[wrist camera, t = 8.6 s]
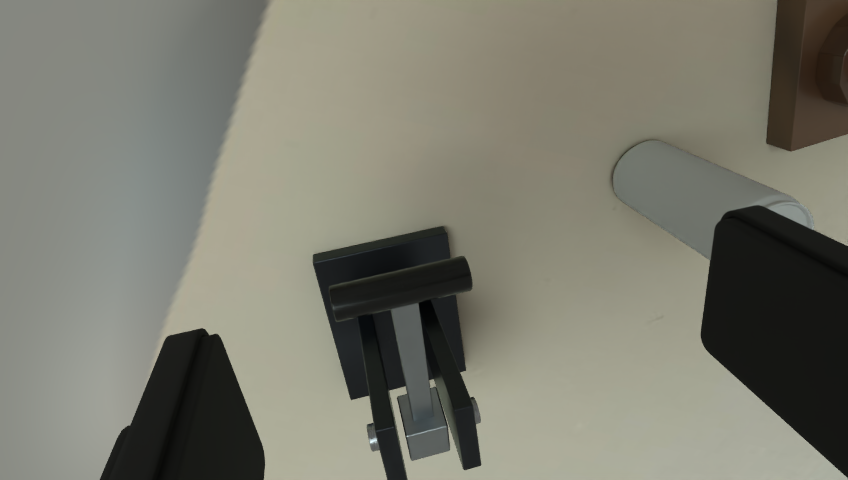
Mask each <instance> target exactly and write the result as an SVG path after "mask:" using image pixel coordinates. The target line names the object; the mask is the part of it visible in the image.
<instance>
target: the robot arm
mask: <svg viewBox="0 0 848 480" xmlns="http://www.w3.org/2000/svg"><path fill="white" fill-rule="evenodd" d="M701 340H702V343H703V345H704V347H705V349H706V350H707V351H708V352H709V353H710V354H711V355H712V356H713V357H714V358H715V359H716V360H718V361H719V362H720V363H721V364H722V365H723V366H724V367H725V368H726V369H727V370H729V371H730V372H731V373H732V374H733V375H734V376H735V377H736V378H737V379H739V380H740V381H741V382H742V383H743V384H744V385H745V386H746V387H747V388H749V389H750V390H751V391H752V392H753V393H754V394H755V395H756V396H757V397H759V398H760V399H761V400H762V401H763V402H764V403H765V404H766V405H767V406H769V407H770V408H771V409H772V410H773V411H774V412H775V413H776V414H777V415H779V416H780V417H781V418H782V419H783V420H784V421H785V422H786V423H787V424H789V425H790V426H791V427H792V428H793V429H794V430H795V431H796V432H797V433H798V434H800V435H801V436H802V437H803V438H804V439H805V440H806V441H807V442H808V443H810V444H811V445H812V446H813V447H814V448H815V449H816V450H817V451H818V452H820V453H821V454H822V455H823V456H824V457H825V458H826V459H827V460H828V461H830V462H831V463H832V464H833V465H834V466H835V467H836V468H837V469H838V470H840V471H841V472H842V473H843V474H844V475H845V476H846V477H847V478H848V246H846V245H844V244H842V243H840V242H837V241H835V240H833V239H831V238H829V237H827V236H825V235H823V234H821V233H818V232H816V231H814V230H812V229H810V228H808V227H806V226H804V225H802V224H799V223H797V222H795V221H793V220H791V219H789V218H787V217H785V216H783V215H780V214H778V213H776V212H774V211H772V210H770V209H768V208H766V207H763V206H760V205H754V206H749V207H745V208H740V209H736V210H731V211H728V212H726V213H725V214H724V215H723V216H722V218H721V221H719V222H718V223H717V224H716V226H715V229H714V237H713V244H712V252H711V259H710V267H709V274H708V282H707V289H706V297H705V304H704V312H703V320H702V327H701ZM264 470H265V457H264V450H263V446H262V443H261V440H260V438H259V435H258V433H257V430H256V428H255V425H254V422H253V420H252V417H251V415H250V412H249V409H248V407H247V404H246V402H245V399H244V396H243V394H242V391H241V389H240V386H239V384H238V381H237V378H236V376H235V373H234V371H233V368H232V365H231V363H230V360H229V358H228V355H227V353H226V350H225V347H224V345H223V342H222V340H221V338H220V336H219V335H218V334H213V335H209V334H208V333H207V331H206V330H205V329H203V328H201V329H197V330H192V331H188V332H183V333H179V334H174V335H170V336H168V337H167V338H166V339H165V341H164V343H163V346H162V348H161V351H160V353H159V356H158V358H157V361H156V363H155V366H154V368H153V371H152V373H151V376H150V378H149V381H148V383H147V386H146V388H145V391H144V393H143V396H142V398H141V400H140V403H139V405H138V408H137V410H136V413H135V415H134V418H133V420H132V423H131V425H130V426H127V427H126V428H125V429H123V430H122V431H121V433H120V435H119V436H118V438H117V440H116V443H115V445H114V447H113V450H112V452H111V455H110V457H109V459H108V461H107V464H106V466H105V468H104V471H103V473H102V476H101V478H100V480H264Z"/></svg>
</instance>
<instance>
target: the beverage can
mask: <svg viewBox="0 0 848 480" xmlns="http://www.w3.org/2000/svg"><path fill="white" fill-rule="evenodd" d="M613 188H614V191H615V193H616V195H617V197H618V198H619V199H620V200H621V201H622V202H624V203H625V204H627V205H628V206H630V207H631V208H633V209H634V210H636V211H637V212H639V213H640V214H642V215H643V216H645V217H646V218H648V219H649V220H651V221H652V222H654V223H655V224H657V225H658V226H660V227H661V228H663V229H664V230H666V231H667V232H669V233H670V234H671V235H673V236H674V237H676V238H677V239H679V240H680V241H682V242H683V243H685V244H686V245H688V246H689V247H691V248H692V249H694V250H695V251H697V252H698V253H700V254H701V255H703V256H704V257H706V258H707V259H709V260H710V259H711V252H712V244H713V237H714V229H715V226H716V224H717V223H718V222H719V221H721V218H722V216H723V215H724V214H725V213H726V212H728V211H731V210H736V209H740V208H745V207H749V206H754V205H760V206H763V207H766V208H768V209H770V210H772V211H774V212H776V213H778V214H780V215H783V216H785V217H787V218H789V219H791V220H793V221H795V222H797V223H799V224H802V225H804V226H806V227H808V228H810V229H812V230H814V221H813V216H812V215H811V213H810V211H809V209H807V208H806V207H805V206H803V205H802V204H800V203H799V202H798V201H797V200H795V199H794V198H793V197H791V196H789V195H787V194H784V193H782V192H780V191H777V190H775V189H773V188H770V187H768V186H766V185H763V184H761V183H759V182H756V181H754V180H752V179H749V178H747V177H744V176H742V175H740V174H737V173H735V172H733V171H730V170H728V169H726V168H723V167H721V166H719V165H716V164H714V163H712V162H709V161H707V160H705V159H702V158H700V157H698V156H695V155H693V154H690V153H688V152H686V151H683V150H681V149H679V148H676V147H674V146H672V145H669V144H667V143H665V142H661V141H658V140H651V141H645V142H642V143H640V144H638V145H636V146H635V147H633V148H631V149H630V150H629V151H628V152H626V153H625V154H624V155H623V156H622V158H621V159H620V160H619V161H618V163H617V165H616V168H615V170H614V175H613Z"/></svg>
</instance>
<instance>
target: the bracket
mask: <svg viewBox="0 0 848 480" xmlns="http://www.w3.org/2000/svg"><path fill="white" fill-rule="evenodd" d="M446 259H450V250H449V243H448V236H447V232H446V231H445V229H444V227H443V226H441V227H437V228H432V229H428V230H423V231H419V232H414V233H410V234H405V235H401V236H396V237H392V238H387V239H383V240H378V241H374V242H369V243H364V244H360V245H355V246H351V247H346V248H342V249H337V250H333V251H328V252H324V253H319V254H315V255H313V266H314V269H315V273H316V276H317V280H318V284H319V287H320V291H321V294H322V298H323V302H324V305H325V309H326V312H327V316H328V320H329V323H330V327H331V330H332V334H333V338H334V341H335V345H336V348H337V352H338V356H339V359H340V363H341V366H342V370H343V374H344V377H345V381H346V384H347V388H348V392H349V395H350V399H351V400H353V399H357V398H361V397H365V396H370V403H371V409H372V416H373V422H374V423H371V424H368V425H367V432H368V438H369V443H370V447H371V450H372V451H377V450H380V453H381V457H382V461H383V464H384V468H385V472H386V476H387V480H408V479H407V475H406V470H405V465H404V460H403V455H402V450H401V446H400V441H399V436H398V431H397V426H396V421H395V417H394V412H393V407H392V402H391V397H390V392H389V390H393V389H396V388H400V387H404V386H406V385H405V380H404V375H403V370H402V364H401V359H400V354H399V349H398V344H397V339H396V334H395V329H394V324H393V319H392V313H391V310H387V311H382V312H378V313H374V314H370V315H366V316H361V317H357V318H353V319H349V320H344V321H340V322H337V321H336V320H335V317H334V314H333V310H332V306H331V301H330V295H329V287H330V286H332V285H337V284H341V283H345V282H350V281H354V280H358V279H363V278H367V277H372V276H376V275H380V274H385V273H389V272H393V271H398V270H402V269H407V268H411V267H415V266H420V265H424V264H429V263H433V262H437V261H442V260H446ZM418 304H419V311H420V318H421V325H422V333H423V340H424V347H425V354H426V362H427V369H428V376H429V380H432V379H434V381H435V384H436V387H437V390H438V393H439V397H440V400H441V403H442V406H443V409H444V412H445V415H446V418H447V421H448V424H449V427H450V430H451V433H452V436H453V439H454V442H455V445H456V448H457V452H458V455H459V458H460V461H461V464H462V467H463V469H464V470H467V469H471V468H474V467H478V466H481V459H480V451H479V444H478V437H477V429H476V424H478V423H480V422H481V418H480V413H479V409H478V406H477V403H476V400H475V398H474V397H471V398H470V396H469V394H468V391H467V389H466V386H465V384H464V381H463V379H462V376H461V374H460V372H463V371H466V366H465V359H464V352H463V345H462V337H461V330H460V323H459V316H458V308H457V301H456V294H454V295H450V296H446V297H442V298H437V299H433V300H429V301H425V302H420V303H418Z"/></svg>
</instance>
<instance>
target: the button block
mask: <svg viewBox="0 0 848 480" xmlns="http://www.w3.org/2000/svg"><path fill="white" fill-rule="evenodd" d="M846 134H848V0H778V10H777V22H776V34H775V46H774V59H773V71H772V83H771V95H770V108H769V120H768V132H767V144H770V145H773V146H776V147H779V148H782V149H785V150H788V151H794V150H797V149H801V148H804V147H807V146H810V145H813V144H817V143H820V142H823V141H826V140H830V139H833V138H836V137H839V136H842V135H846Z"/></svg>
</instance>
